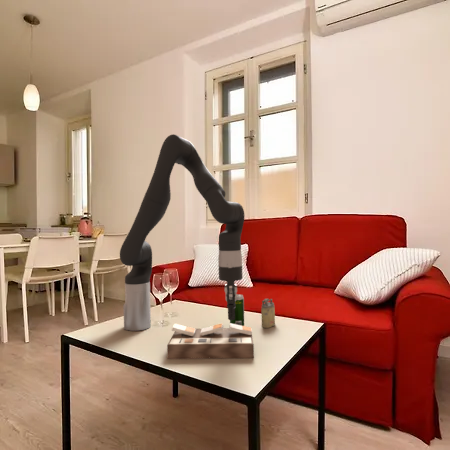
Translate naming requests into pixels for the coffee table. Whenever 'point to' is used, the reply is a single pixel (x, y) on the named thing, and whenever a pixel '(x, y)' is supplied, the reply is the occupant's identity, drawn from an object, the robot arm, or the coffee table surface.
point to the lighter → (268, 313)
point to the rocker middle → (212, 329)
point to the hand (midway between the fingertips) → (231, 319)
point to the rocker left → (183, 329)
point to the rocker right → (240, 329)
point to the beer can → (239, 311)
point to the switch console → (211, 345)
